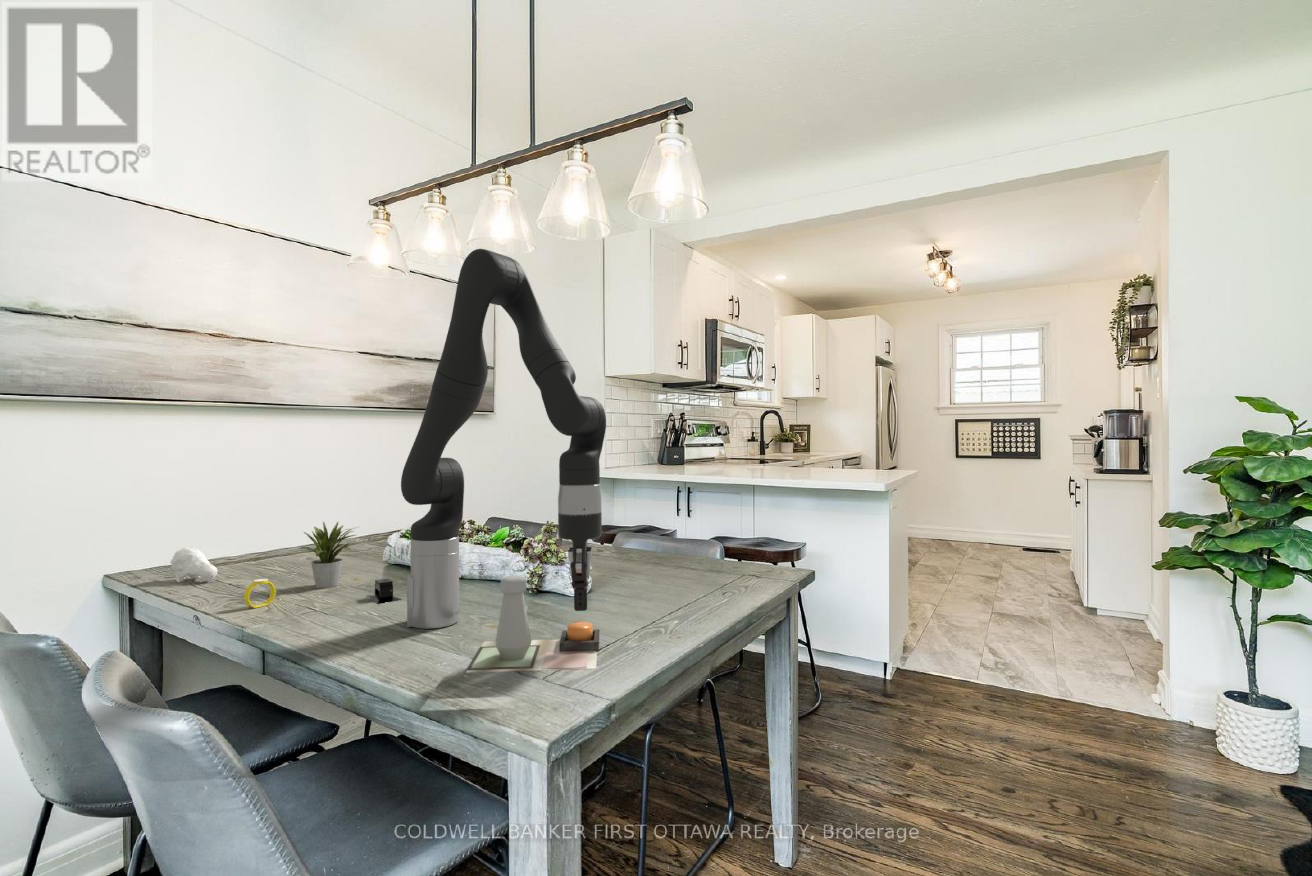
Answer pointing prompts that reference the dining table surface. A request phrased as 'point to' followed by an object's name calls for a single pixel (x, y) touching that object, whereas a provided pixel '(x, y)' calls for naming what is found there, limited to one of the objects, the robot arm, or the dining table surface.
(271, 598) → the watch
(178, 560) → the white fluffy lump
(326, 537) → the house plant
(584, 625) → the button
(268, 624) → the dining table surface
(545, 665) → the picture board
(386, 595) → the black short block
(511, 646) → the salt shaker
